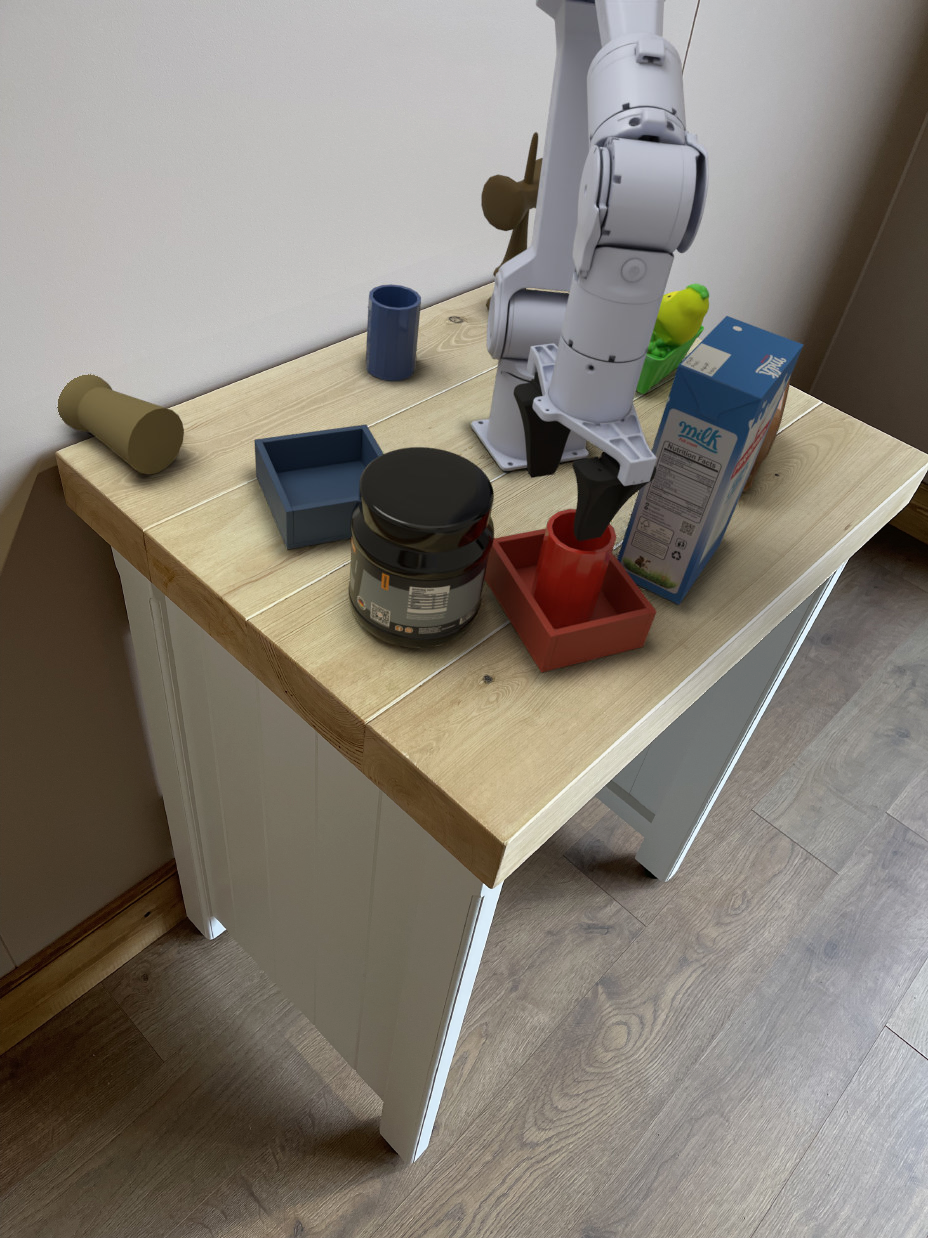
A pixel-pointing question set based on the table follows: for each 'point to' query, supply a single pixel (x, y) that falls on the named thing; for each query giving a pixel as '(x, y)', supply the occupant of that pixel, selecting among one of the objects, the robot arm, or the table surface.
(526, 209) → the kendama
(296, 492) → the blue bin
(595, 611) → the red bin
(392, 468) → the supplement container
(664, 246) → the robot arm
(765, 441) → the tin
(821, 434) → the table surface
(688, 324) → the fruit basket
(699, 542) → the milk carton
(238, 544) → the table surface
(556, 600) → the red cup
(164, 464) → the olive brown flared cylinder
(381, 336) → the blue cup
